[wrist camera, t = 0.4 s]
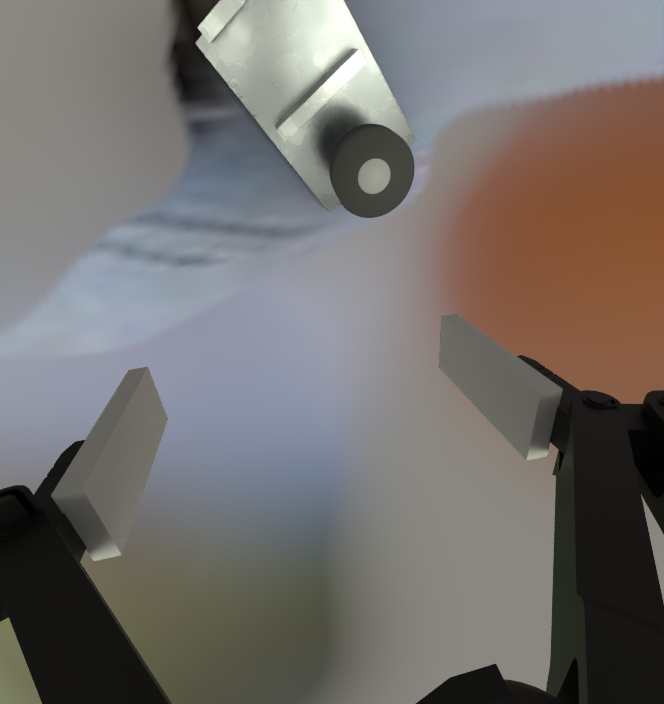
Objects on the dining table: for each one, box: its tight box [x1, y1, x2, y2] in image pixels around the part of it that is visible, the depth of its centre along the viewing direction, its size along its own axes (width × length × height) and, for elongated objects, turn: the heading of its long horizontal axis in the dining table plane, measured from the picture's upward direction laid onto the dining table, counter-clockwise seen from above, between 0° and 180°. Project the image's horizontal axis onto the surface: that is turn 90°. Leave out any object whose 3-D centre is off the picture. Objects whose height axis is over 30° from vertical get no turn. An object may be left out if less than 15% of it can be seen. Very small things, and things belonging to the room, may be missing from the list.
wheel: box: [329, 124, 414, 218], centre depth 28 cm, size 6×6×4 cm
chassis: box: [196, 0, 416, 212], centre depth 29 cm, size 10×16×4 cm, turn 37°
